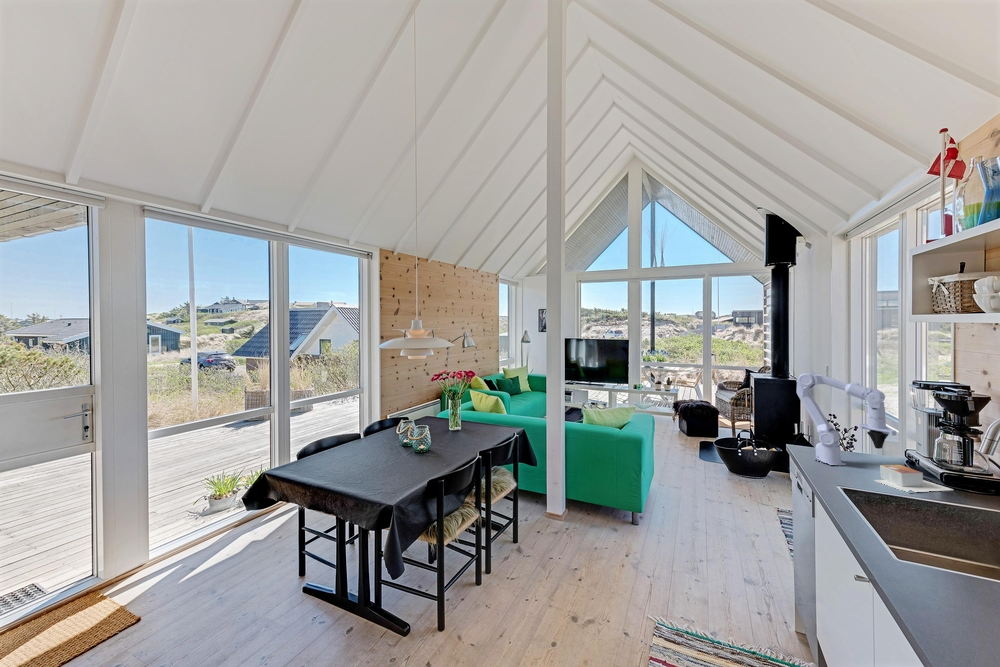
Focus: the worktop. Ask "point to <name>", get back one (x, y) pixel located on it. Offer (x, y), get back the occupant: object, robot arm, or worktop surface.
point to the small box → (901, 475)
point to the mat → (925, 488)
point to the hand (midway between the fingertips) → (878, 448)
